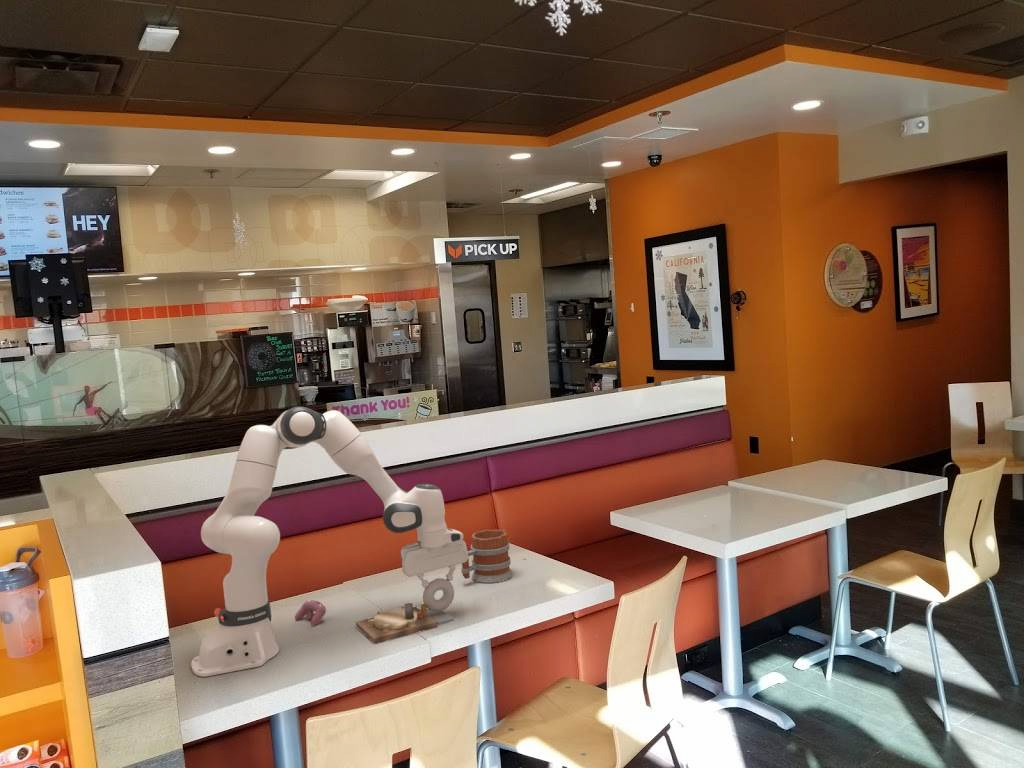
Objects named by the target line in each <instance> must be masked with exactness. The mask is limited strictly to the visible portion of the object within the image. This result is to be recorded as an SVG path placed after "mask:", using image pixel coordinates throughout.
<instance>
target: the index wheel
mask: <svg viewBox="0 0 1024 768" xmlns="http://www.w3.org/2000/svg"><path fill="white" fill-rule="evenodd" d="M403 605H404V606H402V607H401V608H393V609H389V610H381V609H380V610H378V611H377V612H376V615H375V616H374V619H372V620H368V624H369V627H373V626H375V627H377V628H379V629H383V631H384V632H389V631H390V630H395V629H401V628H405V627H410V628H412V627H415V623H416V621H417V618H423V612H422V611H418V612H416V611H414V610H413V607H414V605H413V603H411V602H408V603H404V604H403Z"/></svg>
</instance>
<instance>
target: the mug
mask: <svg viewBox="0 0 1024 768" xmlns="http://www.w3.org/2000/svg"><path fill="white" fill-rule="evenodd" d="M507 533H508V531H506V530H505V529H484V530H480V531H476V532H474V533H472V534H471V545H470V550H469V551H468V549H467V551H468V560H467V562H464V563H461V573H462V574H461V575H462V576H463V578H464V579H465V580H466V579H470V573H471V572H473V573H472V575H471V579H472V580H473V581H474V580H475V582H476V581H478V582H477V583H479V582H484V583H483V584H492V583H491V582H497V583H500V582H499V581H502V582H504V581H503V580H505V581H507V580H506V579H508V578H509V579H510V577H511V578H512V576H513V571H512V570H511V568H510V566H511V564H512V563H511V557H510V556H509V550H510V542H509V541H508V535H507ZM471 556H472V560H471V565H470V563H469V562H470V561H469V557H471ZM509 579H508V580H509ZM489 582H490V583H489Z"/></svg>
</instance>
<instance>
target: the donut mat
mask: <svg viewBox="0 0 1024 768" xmlns="http://www.w3.org/2000/svg"><path fill="white" fill-rule="evenodd" d="M426 609H427V615H428V616H430V617H431V618H432V619H434V620H435V621H437V625H442V624H446V623H450V621H451V622H453V621H454V622H455V618H454V617H453V616H451V615H450V614H448V613H447V612H446V611H445V610H442V611H439V612H434V611H431V610H429V609H428V608H426Z"/></svg>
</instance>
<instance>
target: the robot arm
mask: <svg viewBox="0 0 1024 768" xmlns="http://www.w3.org/2000/svg"><path fill="white" fill-rule="evenodd" d="M310 443H316V444H317V445H319V446H320V447H321V448H323V449H324V451H325V453H327V454H328V456H329V457H330V459H331V460H332V461H333V462H334V463H335V465H336V466H338V468H340V469H341V470H342V471H343V472H344V473H345V474H346V475H347V474H348V475H353V476H357V477H360V478H361V479H363V480H364V481H366V482H367V484H368V485H369V486H370V487H371V488H372V490H373V491H374V492H375V493H376V494H377V495H378V497H379V498H380V499H381V501H382V503H383V506H384V510H383V514H382V521H383V524H384V526H385V528H386V529H387V530H389V532H392V533H395V534H402V533H406V532H410V531H414V530H415V529H416V533H417V541H415V542H412V543H407V544H405V545H404V546H403V547H402V548H401V550H400V557H401V566H402V567H401V568H402V573H403V574H404V576H406V577H407V578H410V577H414V576H417V578H418V579H419V580H420V581H421V586H422V588H423V589H425V587H428V586H429V583H430V582H429V580H428V579H425V578H424V577H425V573H426V574H427V573H429V572H434V571H437V570H441V569H444V568H449V570H448V573H446V574H445V578H446V580H448V581H449V582H451V581H453V580H454V573H455V570H456V565H460V564H462V563H464V562H467V560H468V559H469V557H468V551H467V550H468V547H467V542H465V540H464V533H463V532H461V531H460V530H457V529H453V528H448V525H447V522H446V520H445V519H446V518H445V515H446V510H445V500H444V496H443V493H442V490H441V489H440V487H438V486H437V485H435V484H432V483H431V484H430V483H420V484H418V483H417V484H416V485H415V486H414V487H413V488H412V489H410V490H409V491H408V490H405V489H404V488H402V487H400V486H399V485H398V484H397V483H396V482H395V481H394V479H393V478H392V477H391V476H390V475H389V474H388V472H387V471H386V470H385V468H384V467H383V466H382V465H381V464H380V462H379V460H378V459H377V456H376V454H375V453H374V451H373V449H372V448H371V446H370V444H369V442H368V441H367V439H366V438H365V436H364V435H363V434H362V433H361V431H359V429H358V428H357V427H356V425H354V423H352V421H351V420H350V419H349V418H348V417H346V415H345V414H343V413H342V412H341V411H338V410H333V409H332V410H328V411H325V412H324V413H320V412H318V411H315V410H313V409H311V408H309V407H306V406H305V407H304V406H294V407H292V408H289V409H288V410H285V411H284V412H282V413H281V414H280V415H279V416H278V418H276V420H275V421H274V422H273V423H271V425H267V424H256V425H253V426H251V427H249V429H247V431H246V432H245V434H244V437H243V438H242V440H241V444H240V446H239V450H238V452H237V456H236V459H235V462H234V463H235V464H234V466H233V472H232V475H231V479H230V482H229V485H228V489H227V491H226V494H225V495H224V497H223V500H222V501H221V503H220V504H219V506H218V507H217V509H216V510H215V511H214V512H213V514H212V515H210V516H209V517H208V518H207V519H205V521H203V524H202V526H201V529H200V538H201V541H202V543H203V544H204V545H205V546H206V547H207V548H208V549H210V550H213V551H214V552H217V553H219V554H225V555H230V556H231V567H230V570H229V572H228V573H227V574H226V575H225V576H224V578H223V581H222V588H223V597H224V605H225V606H224V608H223V609H221V608H220V607H216V608H215V609H214V610H213V611H214V615H215V617H216V618H217V619H218V624H216V625H215V626H214V628H212V629H211V631H210V632H208V634H206V635H205V636H204V637H203V638H202V640H201V642H200V645H199V651H198V652H199V653H198V654H199V655H197V656H195V657H194V658H193V659H192V660H191V662H190V663H191V664H190V665H191V666H190V668H191V671H192V673H194V674H195V676H198V677H202V678H203V677H204V678H205V677H210V676H215V675H221V674H226V673H231V672H237V671H241V670H242V671H243V670H247V669H251V668H252V669H253V668H258V667H261V666H263V665H264V664H265V663H266V662H267V661H269V660H270V659H271V658H272V659H273V658H274V657H275V656H277V655H278V653H279V651H280V648H279V646H278V643H277V641H276V638H275V635H274V631H273V626H272V607H271V606H272V605H271V603H270V602H271V601H270V600H269V598H268V586H267V569H268V564H269V560H270V557H271V555H272V554H273V553H274V552H275V551H276V550H277V549H278V547H279V544H280V541H281V532H280V529H279V527H278V526H277V524H276V523H275V522H273V521H272V520H270V519H267V518H264V517H262V516H258V515H255V514H256V512H257V511H258V509H259V507H260V506H261V505H262V504H263V503H264V502H265V501H266V500H268V499H269V498H270V497H271V494H272V491H273V487H274V482H275V478H276V473H277V469H278V465H279V459H280V456H281V454H282V452H283V450H292V449H293V450H294V449H298V448H302V447H305V446H307V445H308V444H310Z"/></svg>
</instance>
